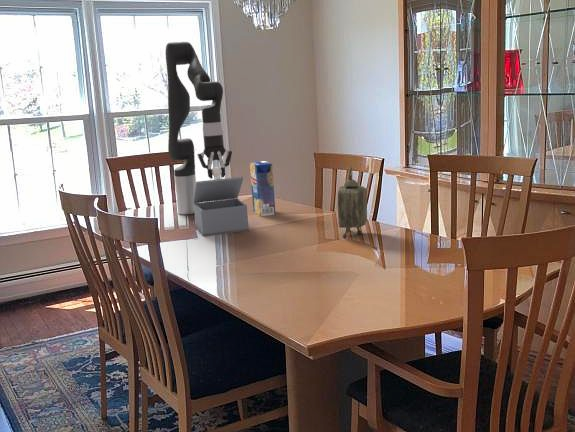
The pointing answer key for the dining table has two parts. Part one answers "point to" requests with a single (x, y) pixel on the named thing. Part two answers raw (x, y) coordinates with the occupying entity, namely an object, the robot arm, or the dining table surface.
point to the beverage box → (262, 188)
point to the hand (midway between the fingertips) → (216, 177)
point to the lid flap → (217, 188)
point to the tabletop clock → (352, 205)
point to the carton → (221, 217)
